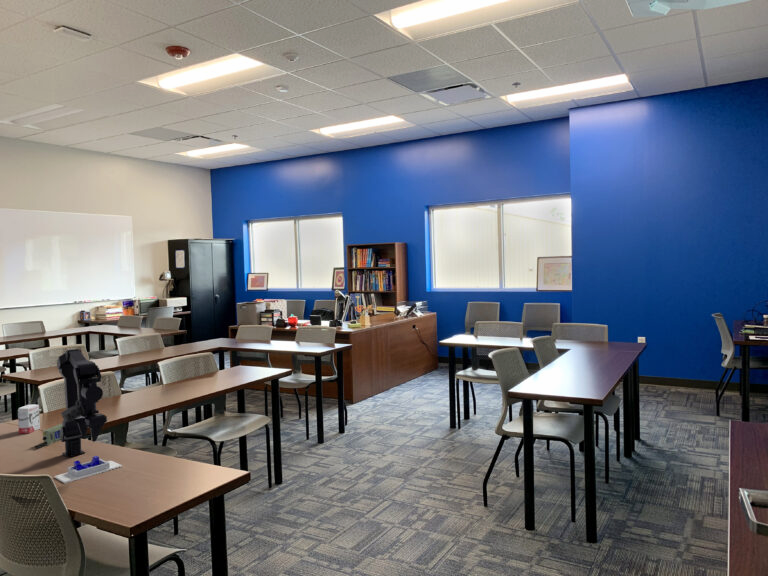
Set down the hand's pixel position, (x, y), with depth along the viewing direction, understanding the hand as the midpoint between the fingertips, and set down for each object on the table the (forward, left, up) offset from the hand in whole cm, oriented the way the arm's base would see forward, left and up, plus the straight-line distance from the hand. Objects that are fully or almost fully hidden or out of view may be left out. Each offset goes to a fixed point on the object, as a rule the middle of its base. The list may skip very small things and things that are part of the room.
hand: (88, 439), depth 209 cm
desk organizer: (+2, -1, -12) cm, 12 cm away
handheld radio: (-51, +7, -12) cm, 53 cm away
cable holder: (+1, -1, -11) cm, 11 cm away
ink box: (-78, +5, -12) cm, 79 cm away
